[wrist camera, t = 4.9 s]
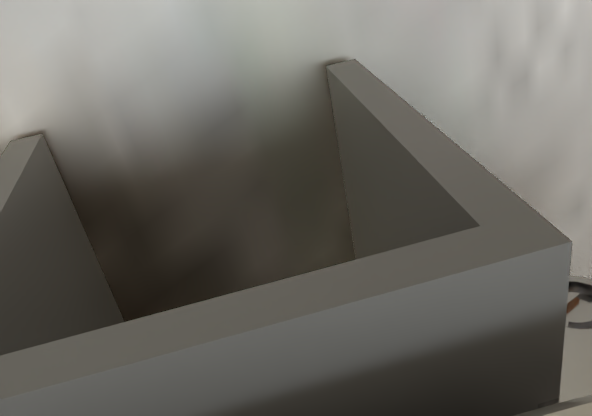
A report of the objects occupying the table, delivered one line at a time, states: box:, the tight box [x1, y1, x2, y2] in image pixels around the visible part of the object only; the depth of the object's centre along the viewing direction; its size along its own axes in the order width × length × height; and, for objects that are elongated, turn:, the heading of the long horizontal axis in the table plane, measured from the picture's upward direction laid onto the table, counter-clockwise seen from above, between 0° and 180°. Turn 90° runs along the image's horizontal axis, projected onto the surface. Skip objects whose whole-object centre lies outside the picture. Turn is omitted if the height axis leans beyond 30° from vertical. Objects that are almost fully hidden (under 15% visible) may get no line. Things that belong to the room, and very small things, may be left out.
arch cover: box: [0, 59, 572, 416], centre depth 10 cm, size 7×7×7 cm
